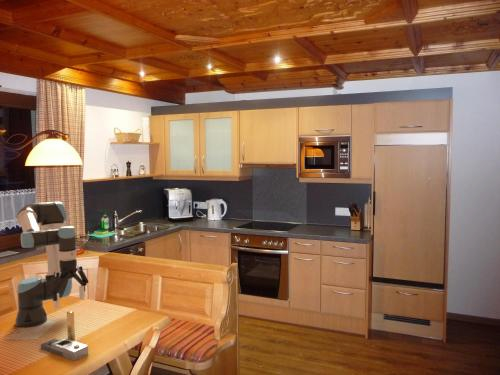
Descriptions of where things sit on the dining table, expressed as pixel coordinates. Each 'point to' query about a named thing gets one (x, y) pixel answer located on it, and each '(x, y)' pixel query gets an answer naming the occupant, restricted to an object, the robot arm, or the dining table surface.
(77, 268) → the robot arm
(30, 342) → the dining table surface
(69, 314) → the brass pin
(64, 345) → the riveted square sleeve
